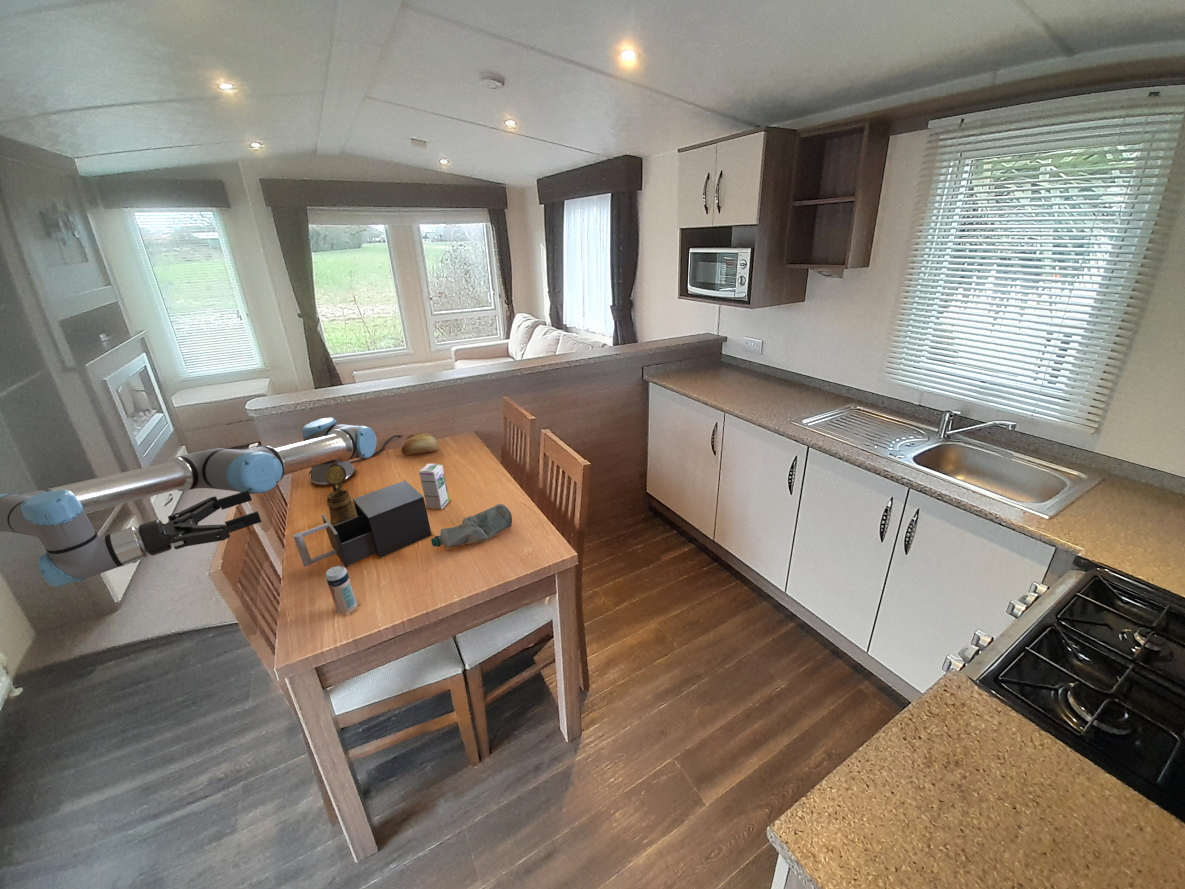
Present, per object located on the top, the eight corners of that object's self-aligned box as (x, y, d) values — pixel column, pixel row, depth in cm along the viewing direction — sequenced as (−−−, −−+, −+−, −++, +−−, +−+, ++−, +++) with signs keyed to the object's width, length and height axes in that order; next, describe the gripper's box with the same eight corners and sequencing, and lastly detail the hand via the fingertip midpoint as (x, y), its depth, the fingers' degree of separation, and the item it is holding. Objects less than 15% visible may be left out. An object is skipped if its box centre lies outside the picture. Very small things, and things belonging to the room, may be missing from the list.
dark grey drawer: (312, 583, 127) (299, 547, 122) (300, 560, 136) (287, 525, 131) (400, 545, 142) (392, 511, 136) (384, 526, 151) (375, 494, 145)
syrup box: (442, 509, 160) (434, 472, 154) (426, 508, 162) (418, 470, 155) (449, 500, 166) (443, 463, 159) (434, 499, 167) (427, 462, 160)
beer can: (341, 602, 122) (329, 565, 117) (360, 600, 122) (349, 563, 117) (333, 616, 118) (320, 578, 113) (353, 614, 118) (341, 576, 113)
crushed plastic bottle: (501, 513, 157) (426, 539, 144) (500, 495, 154) (423, 520, 141) (520, 534, 148) (440, 564, 135) (519, 516, 144) (437, 545, 132)
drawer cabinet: (379, 558, 138) (368, 517, 132) (363, 537, 147) (352, 498, 141) (431, 535, 147) (423, 496, 141) (413, 517, 157) (405, 480, 151)
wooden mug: (361, 506, 164) (349, 460, 156) (361, 527, 152) (347, 478, 145) (333, 512, 161) (318, 465, 153) (330, 534, 149) (314, 484, 142)
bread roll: (402, 451, 204) (398, 434, 200) (438, 444, 209) (435, 427, 205) (403, 460, 195) (399, 442, 192) (440, 453, 200) (437, 436, 197)
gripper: (149, 531, 116) (251, 499, 129) (152, 582, 99) (269, 539, 112) (136, 505, 113) (241, 475, 126) (136, 553, 96) (258, 512, 109)
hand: (254, 505), depth 119 cm, fingers open, 13 cm apart
